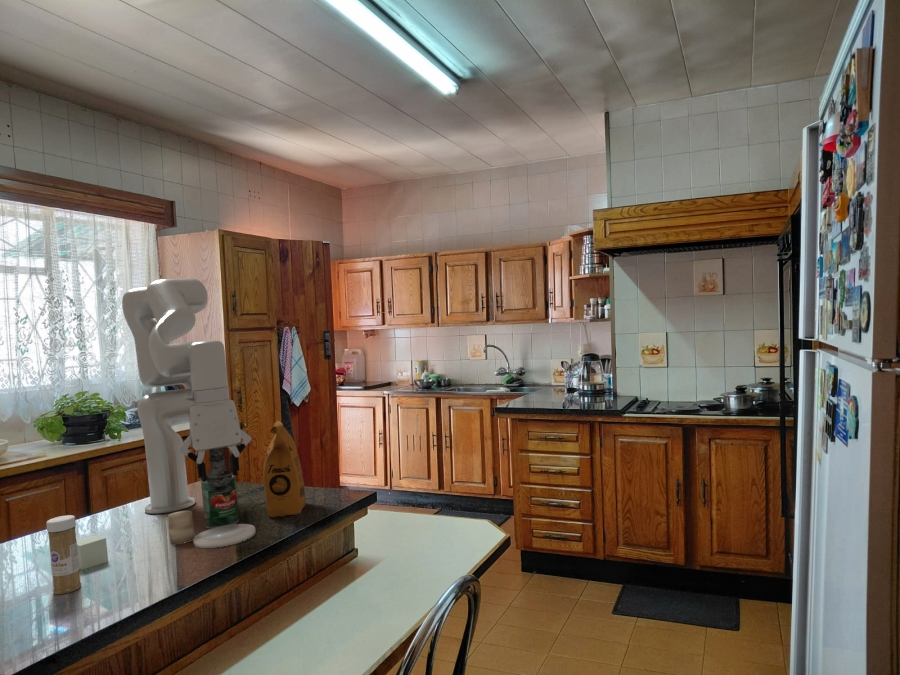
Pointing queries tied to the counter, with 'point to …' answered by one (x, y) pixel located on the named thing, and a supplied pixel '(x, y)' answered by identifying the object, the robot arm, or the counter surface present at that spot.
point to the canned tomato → (220, 506)
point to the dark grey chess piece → (218, 472)
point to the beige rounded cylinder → (180, 527)
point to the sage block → (92, 551)
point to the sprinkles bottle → (64, 554)
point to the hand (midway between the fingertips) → (219, 476)
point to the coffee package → (283, 475)
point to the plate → (224, 536)
